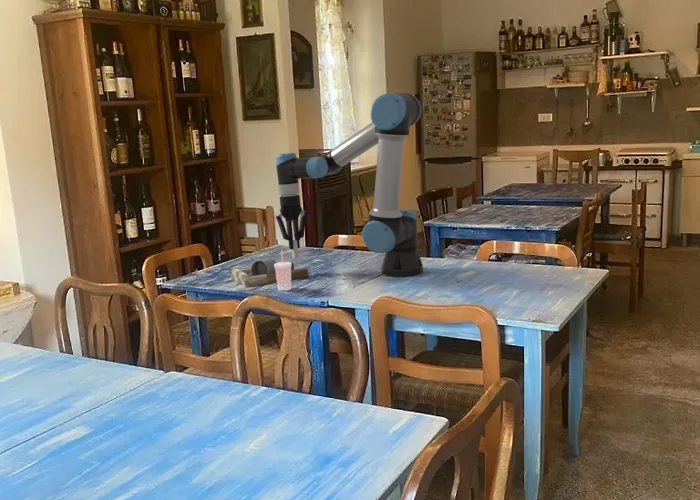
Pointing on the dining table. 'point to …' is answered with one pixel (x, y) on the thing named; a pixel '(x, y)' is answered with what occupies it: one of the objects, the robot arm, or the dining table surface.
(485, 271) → the dining table surface
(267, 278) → the guide channel
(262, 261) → the ceramic mug
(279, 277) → the beverage cup
